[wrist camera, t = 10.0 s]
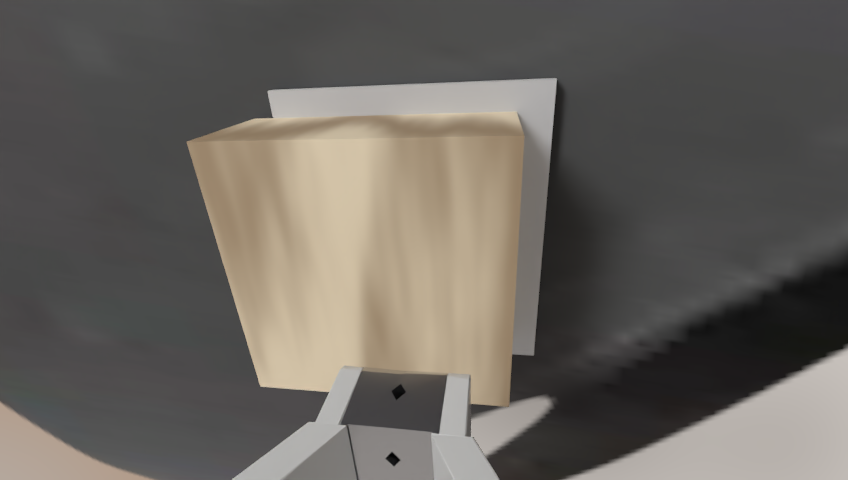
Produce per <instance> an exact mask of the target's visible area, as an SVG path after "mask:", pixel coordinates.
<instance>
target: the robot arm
mask: <svg viewBox="0 0 848 480" xmlns="http://www.w3.org/2000/svg"><path fill="white" fill-rule="evenodd" d="M232 480H500V479H499V478H498V476H497V475H496V473H495V471H494V470H493V468H492V466H491V465H490V463H489V462H488V460H487V458H486V457H485V455H484V453H483V452H482V450H481V449H480V447H479V445H478V444H477V442H476V440H475V439H474V437H471V375H470V374H456V373H437V372H420V371H401V370H391V369H380V368H370V367H355V366H345V365H344V366H343V367H342V368H341V369H340V370H339V372H338V374H337V377H336V379H335V381H334V383H333V385H332V387H331V390H330V392H329V394H328V396H327V398H326V400H325V402H324V405H323V407H322V409H321V411H320V413H319V415H318V417H317V420H316V422H308V423H307V424H305V425H304V426H303V427H301V428H300V429H299V430H297V431H296V432H295V433H293V434H292V435H291V436H289V437H288V438H287V439H285V440H284V441H283V442H281V443H280V444H279V445H277V446H276V447H275V448H273V449H272V450H271V451H269V452H268V453H267V454H265V455H264V456H263V457H261V458H260V459H259V460H257V461H256V462H255V463H253V464H252V465H251V466H249V467H248V468H247V469H245V470H244V471H243V472H241V473H240V474H239V475H237V476H236V477H235V478H233V479H232Z"/></svg>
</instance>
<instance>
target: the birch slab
mask: <svg viewBox="0 0 848 480" xmlns="http://www.w3.org/2000/svg"><path fill="white" fill-rule="evenodd" d="M187 145H188V148H189V151H190V155H191V158H192V161H193V165H194V168H195V171H196V175H197V178H198V181H199V185H200V188H201V191H202V194H203V198H204V201H205V204H206V208H207V211H208V214H209V218H210V221H211V224H212V228H213V231H214V234H215V238H216V241H217V244H218V248H219V251H220V254H221V257H222V261H223V264H224V267H225V271H226V274H227V277H228V281H229V284H230V287H231V291H232V294H233V297H234V301H235V304H236V307H237V311H238V314H239V317H240V320H241V324H242V327H243V330H244V334H245V337H246V340H247V344H248V347H249V350H250V354H251V357H252V360H253V364H254V367H255V370H256V374H257V377H258V380H259V384H260V386H262V387H274V388H286V389H298V390H310V391H322V392H330V390H331V387H332V385H333V383H334V381H335V379H336V377H337V374H338V372H339V370H340V369H341V368H342V367H343V366H344V365H345V366H355V367H370V368H380V369H391V370H401V371H420V372H437V373H456V374H470V375H471V404H481V405H493V406H505V407H509V399H510V381H511V363H512V346H513V328H514V311H515V293H516V276H517V258H518V240H519V223H520V205H521V188H522V170H523V153H524V133H523V130H522V127H521V124H520V120H519V117H518V114H517V112H481V113H444V114H407V115H371V116H334V117H298V118H261V119H252V120H249V121H246V122H243V123H240V124H237V125H234V126H232V127H229V128H226V129H223V130H220V131H217V132H214V133H211V134H208V135H205V136H202V137H199V138H196V139H193V140H191V141H188V142H187Z"/></svg>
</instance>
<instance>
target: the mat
mask: <svg viewBox="0 0 848 480" xmlns="http://www.w3.org/2000/svg"><path fill="white" fill-rule="evenodd" d="M556 83H557V79H556V78H545V79H521V80H497V81H473V82H449V83H424V84H400V85H376V86H352V87H328V88H304V89H280V90H270V91H268V96H269V101H270V106H271V111H272V115H273V118H298V117H334V116H371V115H407V114H444V113H481V112H517V114H518V117H519V120H520V124H521V127H522V130H523V133H524V153H523V170H522V188H521V205H520V223H519V240H518V258H517V276H516V293H515V311H514V328H513V346H512V354H517V355H533V356H534V346H535V334H536V322H537V310H538V299H539V287H540V275H541V263H542V251H543V239H544V227H545V215H546V203H547V191H548V179H549V167H550V155H551V143H552V131H553V119H554V107H555V95H556Z"/></svg>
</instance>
